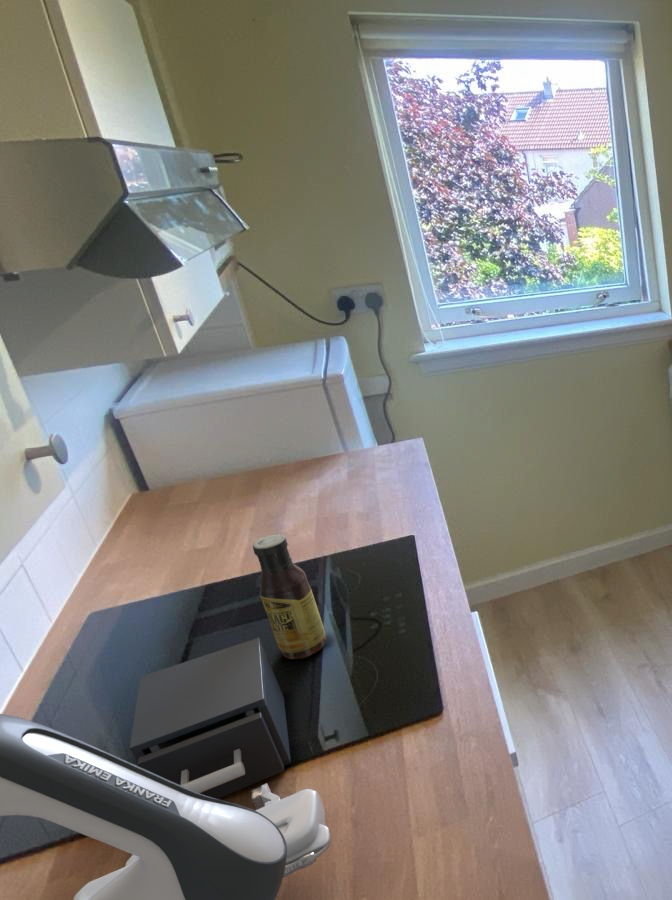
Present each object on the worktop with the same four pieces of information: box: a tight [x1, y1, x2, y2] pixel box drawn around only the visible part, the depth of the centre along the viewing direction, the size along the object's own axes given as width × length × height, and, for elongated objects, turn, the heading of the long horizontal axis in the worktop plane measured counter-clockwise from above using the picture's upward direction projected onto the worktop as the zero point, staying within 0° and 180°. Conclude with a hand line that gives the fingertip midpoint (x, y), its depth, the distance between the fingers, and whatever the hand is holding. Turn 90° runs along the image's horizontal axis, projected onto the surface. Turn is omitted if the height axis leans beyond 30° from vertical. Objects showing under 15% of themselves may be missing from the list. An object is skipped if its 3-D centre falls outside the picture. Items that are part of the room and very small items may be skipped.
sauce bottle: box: [252, 533, 328, 660], centre depth 111 cm, size 6×6×20 cm
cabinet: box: [128, 637, 292, 767], centre depth 94 cm, size 15×13×11 cm
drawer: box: [137, 708, 285, 799], centre depth 90 cm, size 18×12×9 cm, turn 36°
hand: (209, 812), depth 80 cm, fingers open, 8 cm apart
